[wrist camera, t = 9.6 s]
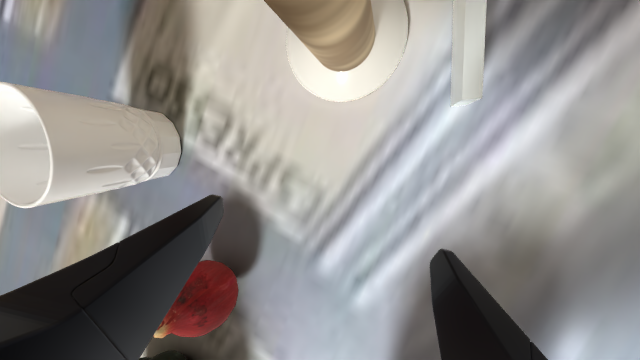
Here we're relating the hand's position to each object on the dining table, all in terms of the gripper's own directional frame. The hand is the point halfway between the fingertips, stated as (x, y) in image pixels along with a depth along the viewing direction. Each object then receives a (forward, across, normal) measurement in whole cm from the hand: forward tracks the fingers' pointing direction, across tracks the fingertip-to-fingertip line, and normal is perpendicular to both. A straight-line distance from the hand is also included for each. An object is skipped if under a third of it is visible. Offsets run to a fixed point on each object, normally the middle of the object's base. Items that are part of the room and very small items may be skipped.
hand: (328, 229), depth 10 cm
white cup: (+13, +18, +8) cm, 23 cm away
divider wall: (+13, -6, -7) cm, 16 cm away
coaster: (+14, +2, -5) cm, 15 cm away
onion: (+6, +8, +16) cm, 19 cm away
